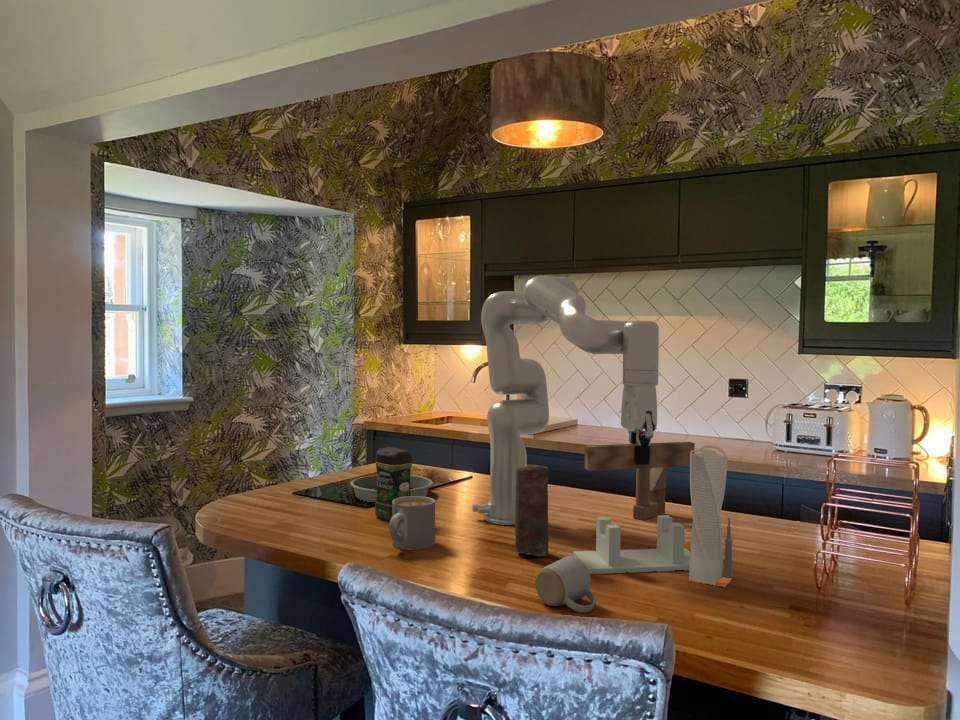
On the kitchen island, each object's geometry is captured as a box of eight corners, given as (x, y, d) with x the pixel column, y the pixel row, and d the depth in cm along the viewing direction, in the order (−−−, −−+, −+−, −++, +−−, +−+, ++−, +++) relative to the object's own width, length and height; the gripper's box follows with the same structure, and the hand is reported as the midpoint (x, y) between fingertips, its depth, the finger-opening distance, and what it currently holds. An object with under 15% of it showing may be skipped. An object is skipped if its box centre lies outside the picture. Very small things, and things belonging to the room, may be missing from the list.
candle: (525, 561, 155) (526, 469, 154) (508, 552, 162) (509, 463, 161) (554, 556, 159) (556, 466, 158) (537, 547, 165) (538, 461, 164)
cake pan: (429, 506, 204) (429, 490, 204) (342, 505, 204) (342, 489, 204) (435, 488, 229) (435, 474, 228) (358, 487, 229) (358, 473, 229)
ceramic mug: (531, 602, 132) (532, 560, 132) (559, 590, 138) (560, 551, 137) (577, 619, 124) (579, 576, 124) (605, 607, 130) (606, 565, 130)
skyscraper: (723, 591, 139) (726, 448, 138) (681, 583, 143) (684, 444, 142) (733, 579, 146) (736, 442, 145) (693, 572, 150) (696, 439, 149)
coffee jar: (369, 517, 191) (370, 447, 190) (392, 511, 197) (392, 444, 196) (394, 523, 185) (394, 451, 184) (416, 518, 190) (417, 448, 190)
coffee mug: (414, 534, 175) (414, 494, 174) (443, 543, 168) (444, 500, 168) (371, 546, 165) (372, 503, 164) (401, 556, 158) (401, 511, 158)
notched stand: (588, 573, 148) (589, 530, 147) (572, 555, 159) (573, 515, 159) (708, 569, 151) (709, 527, 151) (684, 552, 163) (685, 512, 163)
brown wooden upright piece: (665, 514, 198) (666, 449, 197) (644, 520, 190) (645, 453, 189) (653, 511, 200) (655, 447, 200) (632, 518, 193) (633, 451, 192)
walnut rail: (587, 470, 153) (587, 447, 153) (584, 468, 155) (584, 445, 155) (694, 466, 156) (694, 443, 156) (689, 464, 159) (689, 441, 158)
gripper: (611, 376, 162) (610, 457, 163) (637, 380, 146) (636, 470, 147) (643, 376, 163) (642, 456, 164) (672, 380, 148) (671, 469, 148)
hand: (639, 462), depth 156 cm, fingers closed on walnut rail, 2 cm apart
